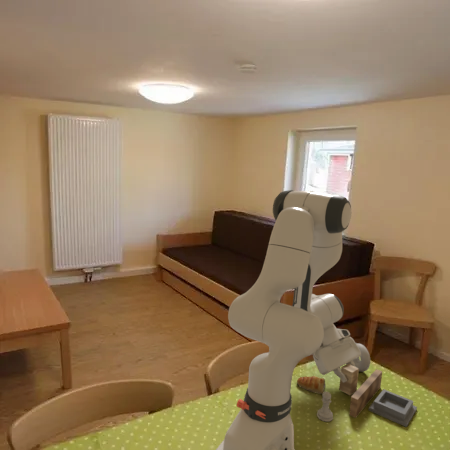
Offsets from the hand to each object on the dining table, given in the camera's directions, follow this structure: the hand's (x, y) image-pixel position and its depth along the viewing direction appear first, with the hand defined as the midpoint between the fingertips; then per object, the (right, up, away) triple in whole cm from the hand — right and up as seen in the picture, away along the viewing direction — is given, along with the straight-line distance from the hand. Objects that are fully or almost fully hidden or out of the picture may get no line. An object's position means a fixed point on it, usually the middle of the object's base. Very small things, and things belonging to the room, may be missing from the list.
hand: (350, 378), depth 123 cm
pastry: (-12, -5, +4) cm, 13 cm away
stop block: (-1, -4, +1) cm, 4 cm away
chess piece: (-12, -7, -11) cm, 18 cm away
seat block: (+11, -7, -7) cm, 14 cm away
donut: (+8, -3, +16) cm, 18 cm away
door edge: (+4, -6, -2) cm, 8 cm away
